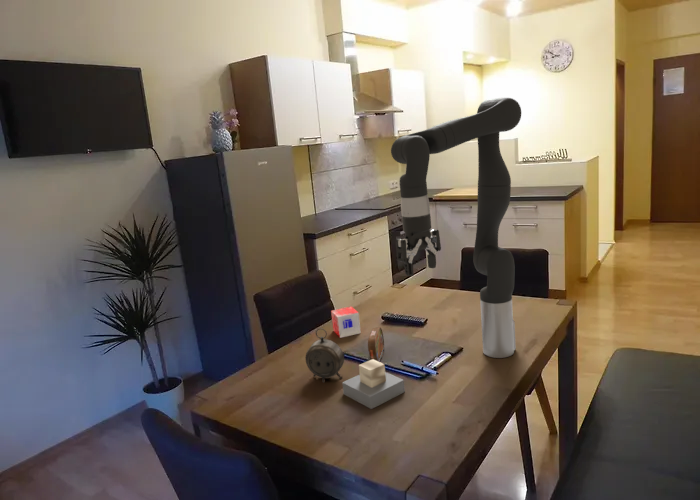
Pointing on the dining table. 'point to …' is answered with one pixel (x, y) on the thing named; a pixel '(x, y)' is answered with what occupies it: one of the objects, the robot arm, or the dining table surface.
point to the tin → (375, 343)
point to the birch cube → (372, 373)
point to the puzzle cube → (345, 321)
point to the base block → (373, 390)
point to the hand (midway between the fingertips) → (421, 271)
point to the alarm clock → (324, 358)
